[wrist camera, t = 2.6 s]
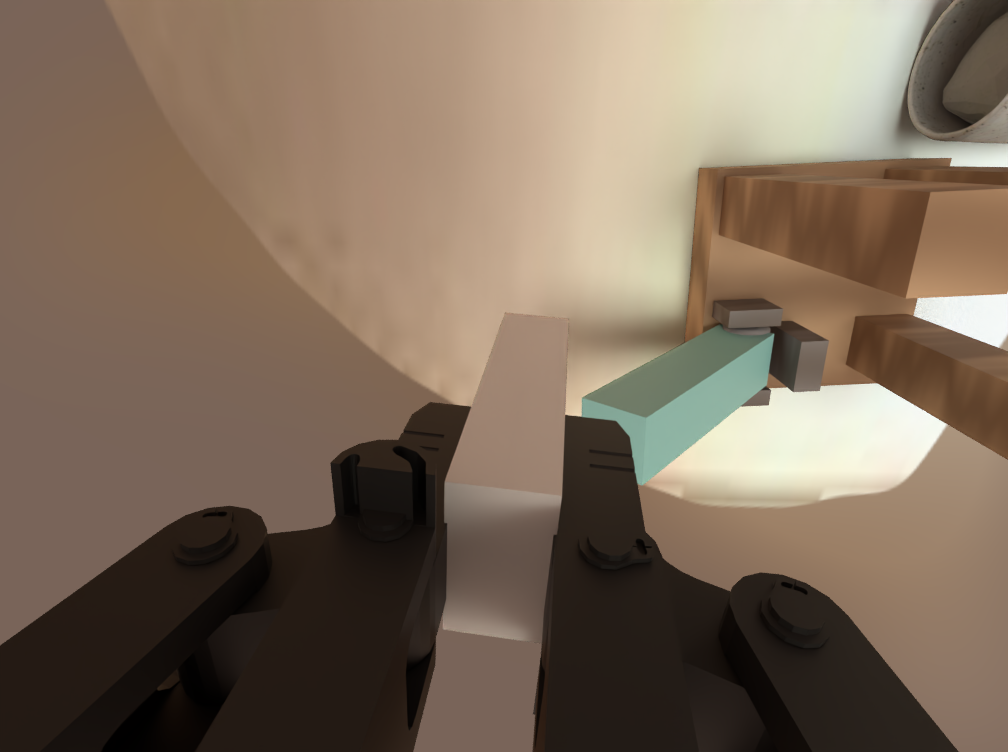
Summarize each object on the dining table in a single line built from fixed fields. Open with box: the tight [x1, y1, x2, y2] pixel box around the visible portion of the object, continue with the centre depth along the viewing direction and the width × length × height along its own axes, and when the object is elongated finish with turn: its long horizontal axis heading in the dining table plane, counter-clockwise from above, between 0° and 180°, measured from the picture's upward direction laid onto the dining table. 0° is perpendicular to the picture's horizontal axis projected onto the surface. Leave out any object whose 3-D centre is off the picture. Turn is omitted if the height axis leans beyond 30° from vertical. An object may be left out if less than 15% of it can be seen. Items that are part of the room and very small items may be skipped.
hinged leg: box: [582, 324, 774, 485], centre depth 29 cm, size 3×3×15 cm
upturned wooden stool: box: [685, 158, 1008, 459], centre depth 27 cm, size 14×13×18 cm
